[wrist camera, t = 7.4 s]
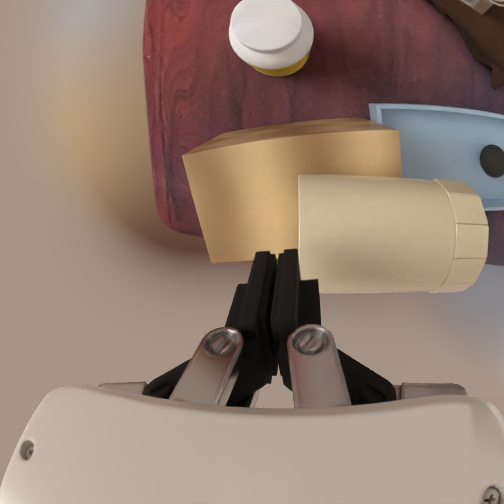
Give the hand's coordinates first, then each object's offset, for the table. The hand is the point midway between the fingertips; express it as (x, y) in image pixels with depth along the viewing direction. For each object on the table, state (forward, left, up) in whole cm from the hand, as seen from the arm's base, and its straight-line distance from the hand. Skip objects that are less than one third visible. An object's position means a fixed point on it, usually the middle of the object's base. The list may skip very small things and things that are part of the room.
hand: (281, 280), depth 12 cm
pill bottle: (-7, +11, -21) cm, 25 cm away
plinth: (+1, 0, -21) cm, 21 cm away
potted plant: (+9, +35, -21) cm, 42 cm away
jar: (+1, 0, -6) cm, 6 cm away
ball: (+20, +14, -19) cm, 31 cm away
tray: (+17, +12, -21) cm, 30 cm away
